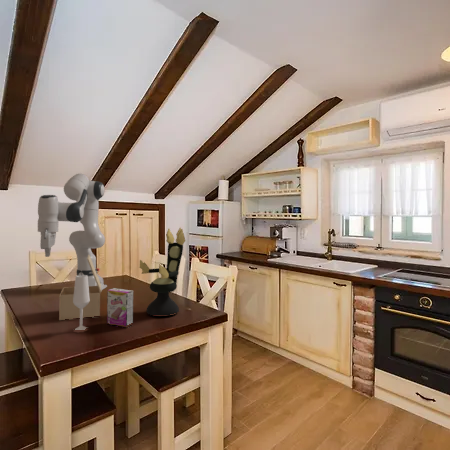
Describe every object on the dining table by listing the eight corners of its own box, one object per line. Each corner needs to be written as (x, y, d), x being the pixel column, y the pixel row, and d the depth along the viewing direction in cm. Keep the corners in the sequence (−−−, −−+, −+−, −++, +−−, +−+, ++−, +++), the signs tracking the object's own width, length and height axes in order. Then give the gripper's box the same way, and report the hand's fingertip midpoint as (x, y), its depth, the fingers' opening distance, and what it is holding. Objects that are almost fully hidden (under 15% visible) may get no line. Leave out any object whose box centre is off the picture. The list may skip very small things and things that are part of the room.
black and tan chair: (137, 312, 167) (138, 226, 165) (170, 304, 184) (172, 226, 182) (159, 321, 155) (161, 228, 153) (192, 311, 171) (195, 227, 170)
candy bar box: (106, 325, 147) (106, 290, 147) (113, 321, 152) (113, 287, 152) (126, 328, 144) (127, 292, 143) (133, 325, 149) (133, 290, 148)
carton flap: (87, 259, 155) (88, 258, 155) (88, 254, 170) (89, 254, 170) (100, 292, 158) (101, 292, 158) (100, 285, 173) (101, 285, 173)
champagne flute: (86, 333, 137) (86, 277, 136) (70, 333, 137) (70, 277, 136) (91, 327, 144) (92, 274, 143) (76, 327, 144) (76, 274, 143)
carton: (59, 320, 152) (59, 295, 151) (62, 310, 167) (62, 287, 166) (99, 316, 159) (100, 292, 158) (99, 307, 173) (100, 285, 173)
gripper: (52, 229, 147) (52, 259, 147) (57, 227, 166) (57, 253, 166) (36, 229, 145) (36, 259, 145) (44, 227, 164) (43, 253, 164)
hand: (47, 256), depth 156 cm, fingers closed
